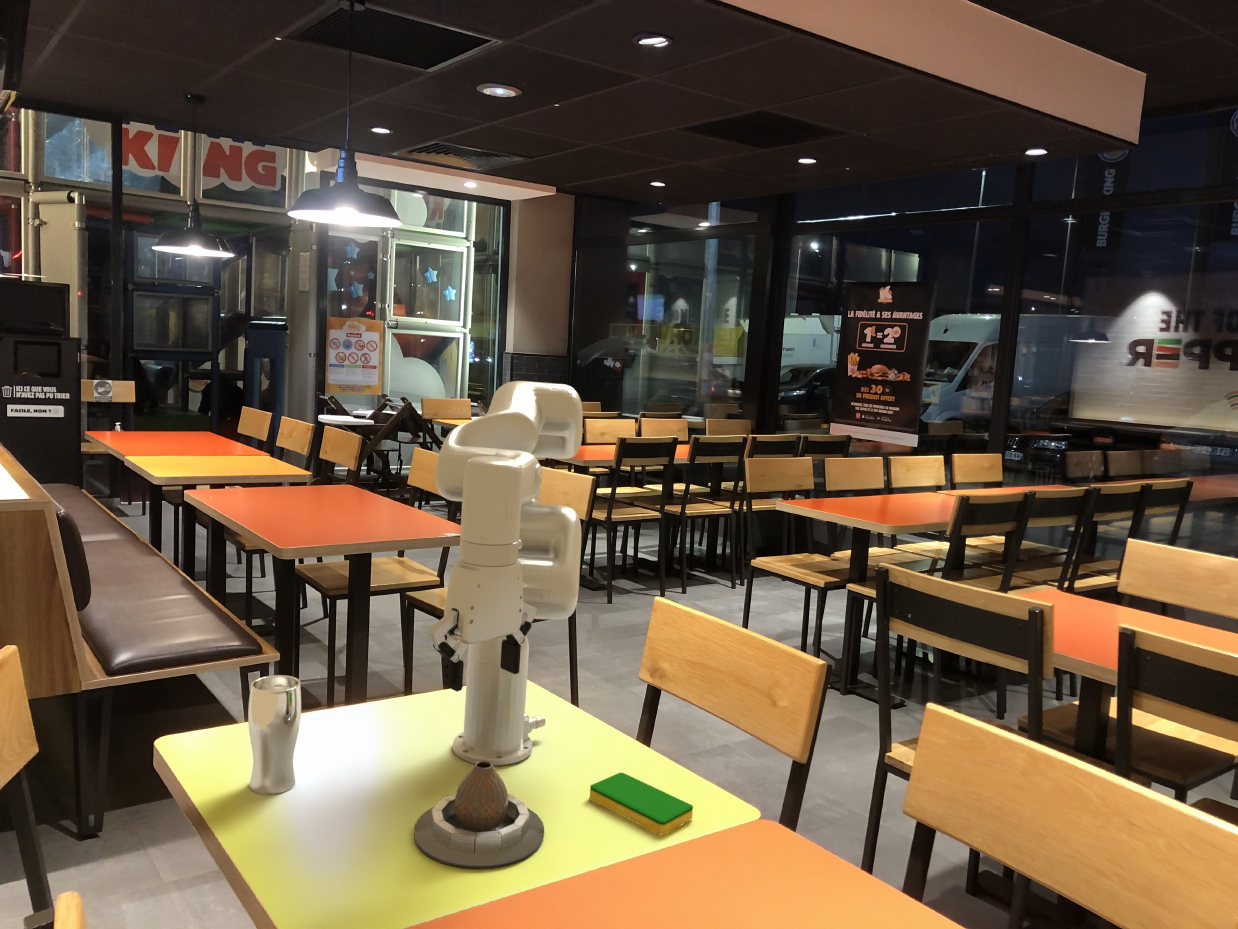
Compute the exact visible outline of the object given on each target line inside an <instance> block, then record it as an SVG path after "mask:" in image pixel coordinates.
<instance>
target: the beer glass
mask: <svg viewBox="0 0 1238 929" xmlns="http://www.w3.org/2000/svg"><path fill="white" fill-rule="evenodd" d="M301 690H302V689H301V680H300V679H299V678H297V677H294V676H291V675H286V674H285V675H283V674H282V675H281V674H278V675H277V674H275V675H274V674H273V675H267V676H263V677H262V676H261V677H259V678H256V679H255V680H253V681H252V682H251V683H250V691H249V699H248V710H247V711H248V713H247V714H248V715H247V716H248V717H247V718H248V720H247V721H248V731H249V732H248V733H249V737H250V738H249V740H250V745H251V751H252V760H253V762H252V770H251V771H252V772H251V776H250V780H249V789H250V790H251V791H252V792H253V793H255V794H259V795H266V796H270V795H271V796H272V795H278V794H283V793H285V792H288V791H289V790H291V789H292V788H293V787H294V786H295V785H296V775H295V770H294V753H295V748H296V743H297V739H298V734H299V730H300V723H301V716H302V692H301Z"/></svg>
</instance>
